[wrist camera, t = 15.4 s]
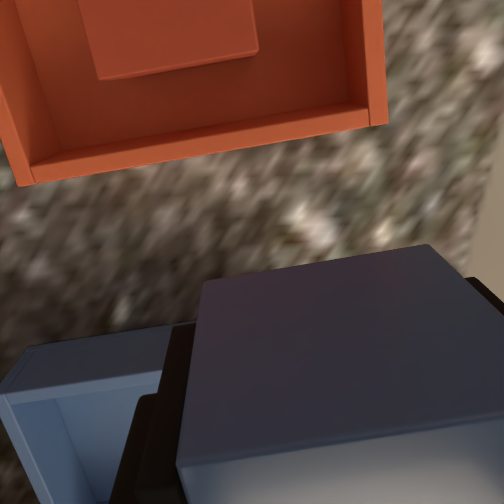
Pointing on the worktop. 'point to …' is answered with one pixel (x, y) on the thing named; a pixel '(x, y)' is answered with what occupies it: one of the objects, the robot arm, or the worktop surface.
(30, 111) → the terracotta bin
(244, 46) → the terracotta block
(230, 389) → the blue cubic block piece
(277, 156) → the worktop surface
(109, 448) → the blue bin
